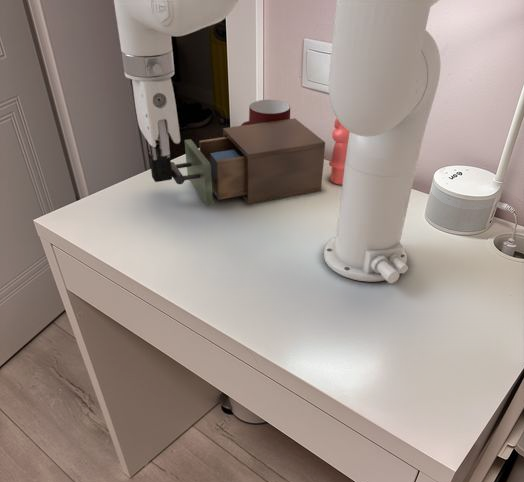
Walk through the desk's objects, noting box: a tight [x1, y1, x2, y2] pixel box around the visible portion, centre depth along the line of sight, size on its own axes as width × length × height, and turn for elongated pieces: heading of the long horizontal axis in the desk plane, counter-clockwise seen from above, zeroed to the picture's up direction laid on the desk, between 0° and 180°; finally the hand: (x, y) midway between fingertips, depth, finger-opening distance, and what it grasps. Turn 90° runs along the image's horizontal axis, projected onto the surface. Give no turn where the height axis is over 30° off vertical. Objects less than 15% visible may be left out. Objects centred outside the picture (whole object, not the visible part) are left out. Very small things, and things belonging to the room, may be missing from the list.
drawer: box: [171, 136, 247, 206], centre depth 96 cm, size 18×11×7 cm, turn 112°
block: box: [210, 150, 240, 184], centre depth 97 cm, size 5×5×5 cm
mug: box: [240, 99, 291, 126], centre depth 107 cm, size 11×8×10 cm
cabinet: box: [222, 117, 326, 205], centre depth 99 cm, size 15×13×9 cm
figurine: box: [328, 117, 350, 186], centre depth 98 cm, size 5×5×15 cm
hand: (162, 178), depth 93 cm, fingers closed
